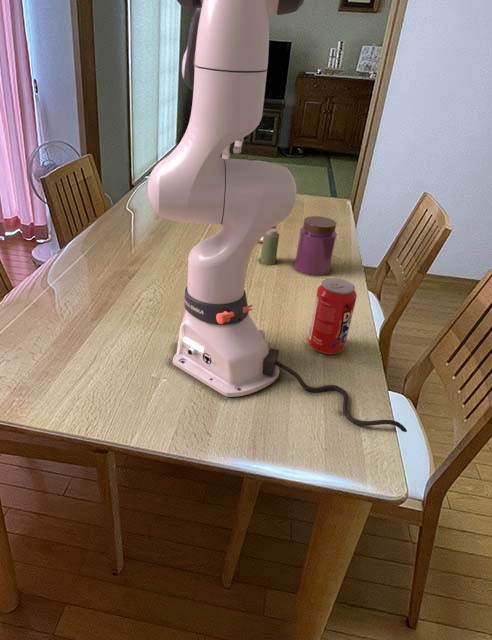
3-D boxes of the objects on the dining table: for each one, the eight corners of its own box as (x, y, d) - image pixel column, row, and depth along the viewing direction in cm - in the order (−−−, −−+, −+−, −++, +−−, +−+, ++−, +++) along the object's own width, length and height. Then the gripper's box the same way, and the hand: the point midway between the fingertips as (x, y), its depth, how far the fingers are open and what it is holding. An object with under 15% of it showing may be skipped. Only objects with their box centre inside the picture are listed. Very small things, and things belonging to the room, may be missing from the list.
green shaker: (278, 262, 142) (283, 231, 137) (267, 265, 140) (271, 233, 135) (268, 257, 145) (272, 226, 140) (257, 260, 143) (261, 228, 138)
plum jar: (336, 270, 139) (346, 224, 132) (312, 278, 134) (321, 230, 127) (311, 258, 146) (319, 213, 139) (287, 265, 141) (294, 218, 133)
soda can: (300, 339, 107) (311, 278, 99) (330, 334, 109) (343, 274, 102) (319, 359, 101) (333, 296, 93) (351, 353, 103) (366, 291, 95)
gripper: (234, 108, 115) (230, 167, 123) (258, 98, 131) (253, 150, 139) (209, 105, 117) (206, 163, 124) (236, 95, 133) (232, 147, 141)
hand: (231, 156), depth 132 cm, fingers open, 8 cm apart
